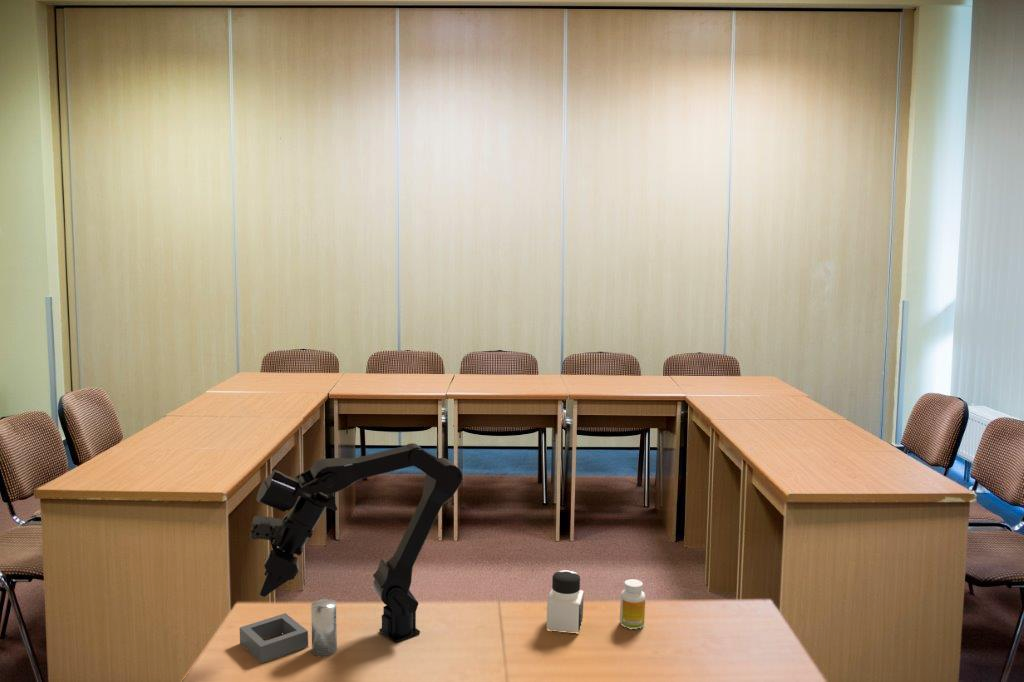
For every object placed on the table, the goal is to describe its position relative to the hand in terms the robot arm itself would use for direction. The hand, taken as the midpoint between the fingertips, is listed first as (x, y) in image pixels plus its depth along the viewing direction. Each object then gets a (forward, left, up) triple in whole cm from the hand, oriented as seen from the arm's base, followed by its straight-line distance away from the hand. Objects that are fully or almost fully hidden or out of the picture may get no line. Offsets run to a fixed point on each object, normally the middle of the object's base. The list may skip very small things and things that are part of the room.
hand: (264, 585), depth 166 cm
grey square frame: (-3, -2, -14) cm, 15 cm away
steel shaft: (-10, +7, -14) cm, 19 cm away
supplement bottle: (-68, +39, -15) cm, 80 cm away
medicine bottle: (-56, +30, -15) cm, 65 cm away
